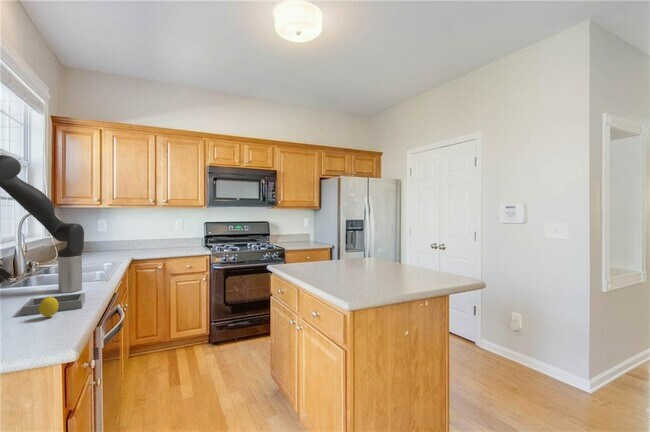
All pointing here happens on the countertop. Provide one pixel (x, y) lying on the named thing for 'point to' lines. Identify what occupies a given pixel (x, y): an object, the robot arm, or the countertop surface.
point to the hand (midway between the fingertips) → (5, 279)
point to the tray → (63, 301)
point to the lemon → (48, 306)
